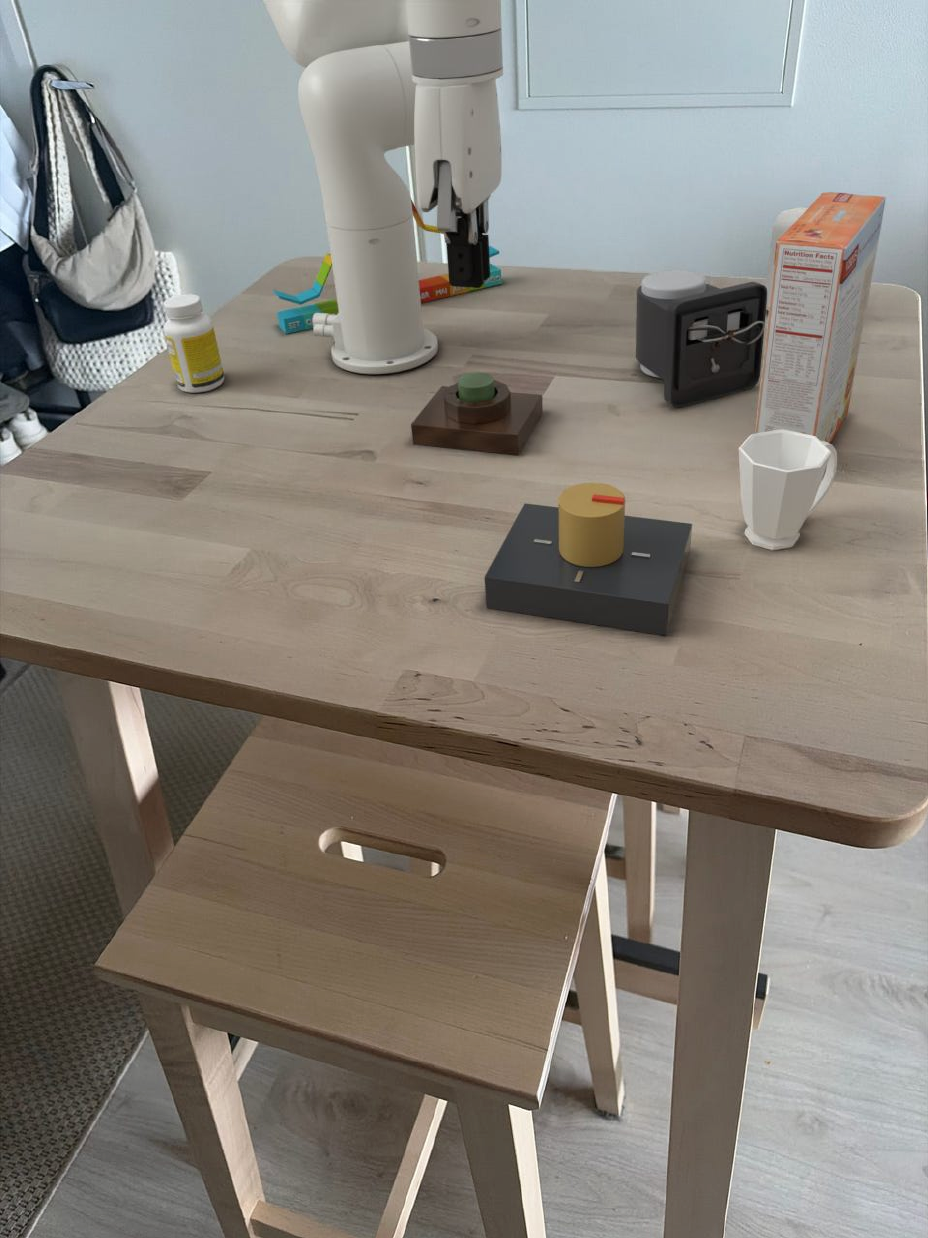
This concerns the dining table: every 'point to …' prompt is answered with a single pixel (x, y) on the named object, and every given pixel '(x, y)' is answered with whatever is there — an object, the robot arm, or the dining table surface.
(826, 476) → the cup
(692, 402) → the light fixture
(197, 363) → the supplement bottle
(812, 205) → the cracker box
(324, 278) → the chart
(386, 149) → the robot arm
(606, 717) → the dining table surface
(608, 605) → the dimmer panel
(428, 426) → the lamp base
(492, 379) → the switch
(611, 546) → the dimmer
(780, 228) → the photo printer
